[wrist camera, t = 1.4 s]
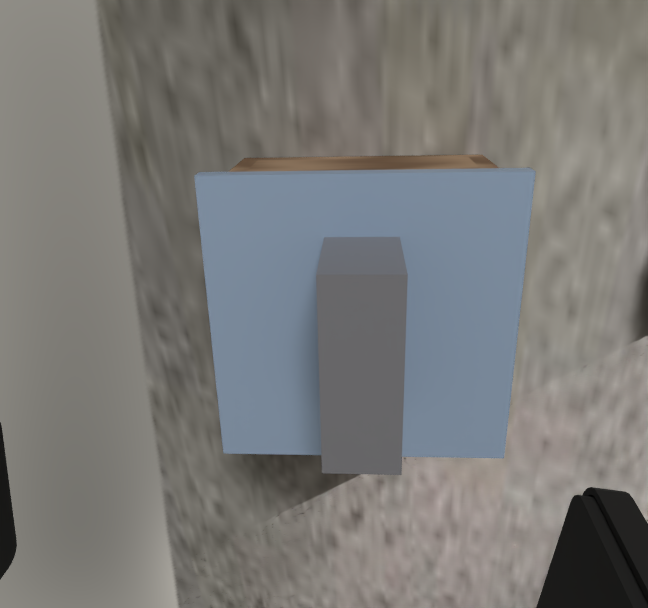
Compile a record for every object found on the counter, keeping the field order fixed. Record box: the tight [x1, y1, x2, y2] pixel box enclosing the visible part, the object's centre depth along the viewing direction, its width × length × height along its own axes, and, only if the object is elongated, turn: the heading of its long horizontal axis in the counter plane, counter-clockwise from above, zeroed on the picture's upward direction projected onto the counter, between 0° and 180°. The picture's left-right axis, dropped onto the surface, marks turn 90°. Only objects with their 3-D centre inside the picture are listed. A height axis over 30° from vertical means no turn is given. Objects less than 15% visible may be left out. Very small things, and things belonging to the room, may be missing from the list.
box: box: [229, 155, 498, 172], centre depth 29 cm, size 12×12×7 cm
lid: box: [194, 168, 535, 475], centre depth 24 cm, size 13×13×7 cm
